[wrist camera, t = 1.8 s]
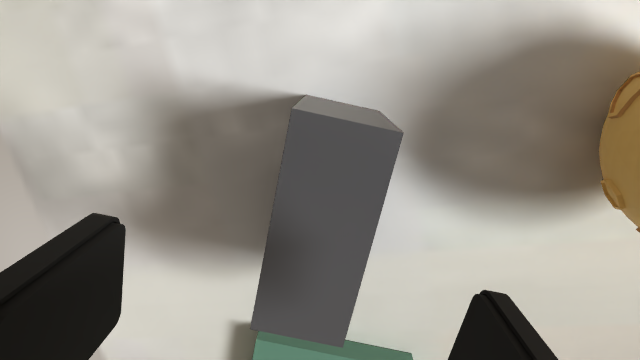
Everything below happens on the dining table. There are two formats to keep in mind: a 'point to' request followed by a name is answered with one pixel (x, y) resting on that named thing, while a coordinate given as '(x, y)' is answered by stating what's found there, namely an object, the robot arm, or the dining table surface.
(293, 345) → the board
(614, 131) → the stress ball
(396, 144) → the gray rectangular block
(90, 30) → the dining table surface
